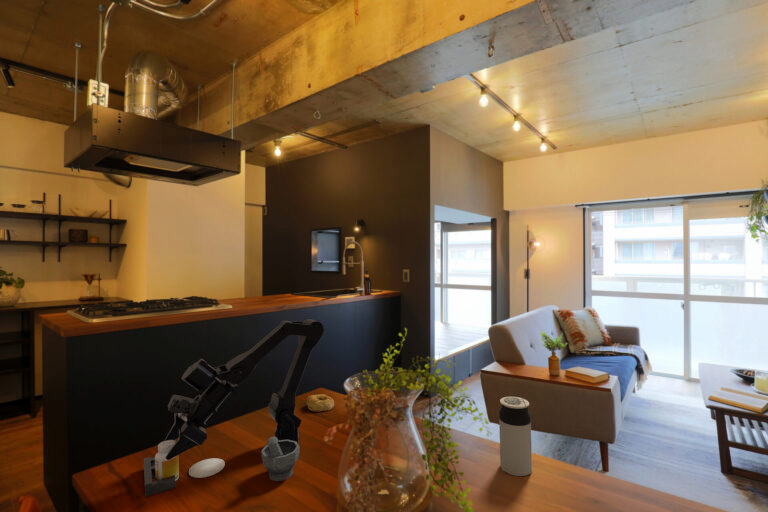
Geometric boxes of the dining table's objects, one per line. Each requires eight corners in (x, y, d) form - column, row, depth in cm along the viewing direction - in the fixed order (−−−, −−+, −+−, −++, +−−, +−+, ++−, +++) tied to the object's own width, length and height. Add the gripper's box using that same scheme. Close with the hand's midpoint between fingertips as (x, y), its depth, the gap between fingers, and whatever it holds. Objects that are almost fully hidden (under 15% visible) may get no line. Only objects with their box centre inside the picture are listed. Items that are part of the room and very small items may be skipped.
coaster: (227, 458, 109) (227, 456, 109) (220, 475, 100) (220, 473, 100) (194, 461, 107) (194, 460, 107) (184, 479, 99) (184, 478, 99)
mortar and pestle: (272, 463, 106) (271, 420, 106) (304, 464, 105) (303, 421, 105) (253, 487, 95) (252, 439, 95) (288, 489, 93) (287, 441, 93)
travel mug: (499, 474, 98) (498, 405, 98) (501, 458, 106) (499, 394, 106) (532, 479, 95) (530, 408, 96) (531, 463, 103) (530, 397, 103)
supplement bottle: (183, 474, 101) (182, 438, 101) (170, 487, 96) (169, 448, 96) (164, 474, 101) (164, 438, 102) (150, 486, 96) (149, 448, 96)
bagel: (323, 414, 138) (323, 401, 138) (301, 409, 144) (300, 397, 144) (339, 405, 147) (339, 393, 147) (318, 401, 152) (317, 389, 153)
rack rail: (170, 461, 108) (170, 451, 108) (175, 487, 95) (175, 475, 95) (144, 469, 104) (143, 458, 104) (145, 497, 92) (144, 484, 92)
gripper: (184, 374, 109) (139, 422, 103) (192, 393, 94) (139, 450, 88) (213, 396, 114) (172, 443, 107) (226, 417, 98) (178, 473, 92)
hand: (165, 451), depth 98 cm, fingers open, 9 cm apart
